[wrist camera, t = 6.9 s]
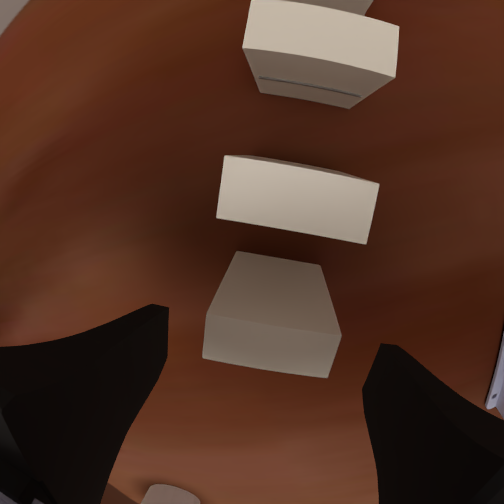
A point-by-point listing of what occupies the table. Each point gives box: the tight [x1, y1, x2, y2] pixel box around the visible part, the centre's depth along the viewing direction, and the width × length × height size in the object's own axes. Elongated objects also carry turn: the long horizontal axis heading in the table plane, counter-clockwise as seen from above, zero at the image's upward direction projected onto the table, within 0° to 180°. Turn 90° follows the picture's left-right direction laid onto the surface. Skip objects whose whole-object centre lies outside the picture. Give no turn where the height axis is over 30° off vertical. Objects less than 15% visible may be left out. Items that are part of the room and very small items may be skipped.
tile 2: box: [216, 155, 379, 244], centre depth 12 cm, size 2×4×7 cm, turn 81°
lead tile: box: [202, 251, 342, 378], centre depth 14 cm, size 2×4×7 cm, turn 81°
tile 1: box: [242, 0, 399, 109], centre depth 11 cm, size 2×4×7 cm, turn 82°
